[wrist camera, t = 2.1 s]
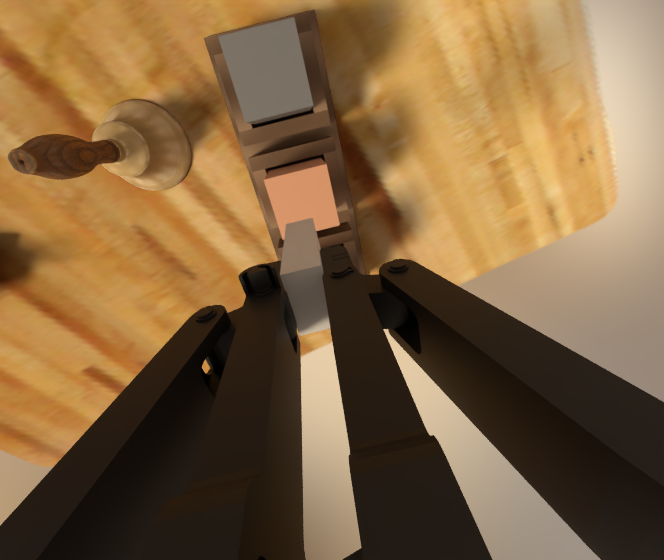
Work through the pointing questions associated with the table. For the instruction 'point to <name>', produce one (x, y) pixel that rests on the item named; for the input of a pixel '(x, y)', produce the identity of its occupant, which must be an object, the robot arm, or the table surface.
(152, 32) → the table surface
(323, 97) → the wooden base
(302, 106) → the grey square block
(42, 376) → the table surface
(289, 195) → the terracotta button
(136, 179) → the hand bell
